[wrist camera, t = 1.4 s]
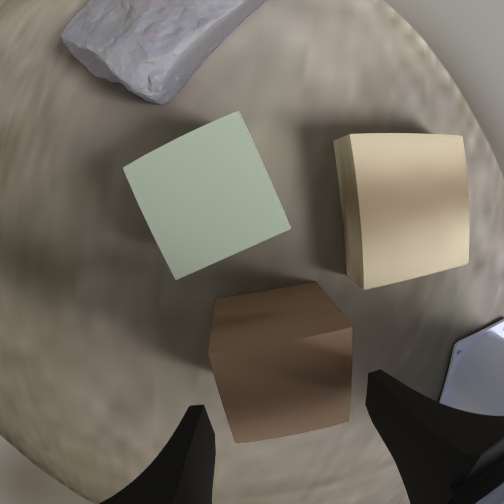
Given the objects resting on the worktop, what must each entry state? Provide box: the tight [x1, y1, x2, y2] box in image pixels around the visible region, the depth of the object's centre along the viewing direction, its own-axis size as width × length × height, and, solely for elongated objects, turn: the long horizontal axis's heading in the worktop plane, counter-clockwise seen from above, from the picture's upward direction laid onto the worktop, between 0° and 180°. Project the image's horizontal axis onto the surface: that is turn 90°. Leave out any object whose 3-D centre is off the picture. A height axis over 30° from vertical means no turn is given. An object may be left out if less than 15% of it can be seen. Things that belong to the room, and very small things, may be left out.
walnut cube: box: [208, 282, 352, 443], centre depth 15 cm, size 6×6×6 cm
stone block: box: [61, 0, 266, 105], centre depth 11 cm, size 12×5×10 cm
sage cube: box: [123, 111, 291, 280], centre depth 13 cm, size 5×5×5 cm
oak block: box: [333, 133, 469, 290], centre depth 15 cm, size 8×8×3 cm
